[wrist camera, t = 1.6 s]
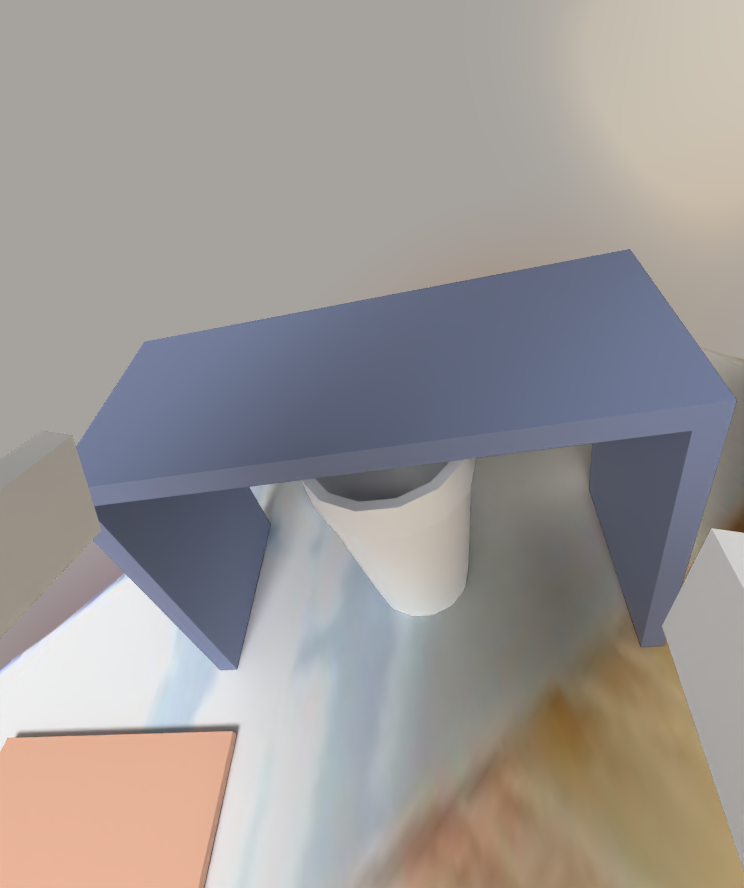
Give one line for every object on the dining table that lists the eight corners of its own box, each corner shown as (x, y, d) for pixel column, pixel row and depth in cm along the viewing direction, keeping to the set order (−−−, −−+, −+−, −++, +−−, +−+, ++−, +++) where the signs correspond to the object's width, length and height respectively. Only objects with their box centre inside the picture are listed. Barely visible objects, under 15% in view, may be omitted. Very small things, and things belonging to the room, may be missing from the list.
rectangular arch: (606, 487, 39) (630, 249, 27) (663, 646, 30) (737, 399, 18) (257, 525, 44) (144, 341, 32) (220, 670, 35) (46, 493, 23)
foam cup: (378, 515, 42) (333, 386, 33) (498, 526, 38) (481, 386, 30) (340, 626, 36) (271, 503, 27) (478, 651, 32) (450, 520, 24)
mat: (236, 734, 32) (232, 731, 32) (158, 1102, 22) (150, 1103, 22) (13, 740, 35) (7, 737, 35) (-146, 1065, 25) (-157, 1066, 25)
